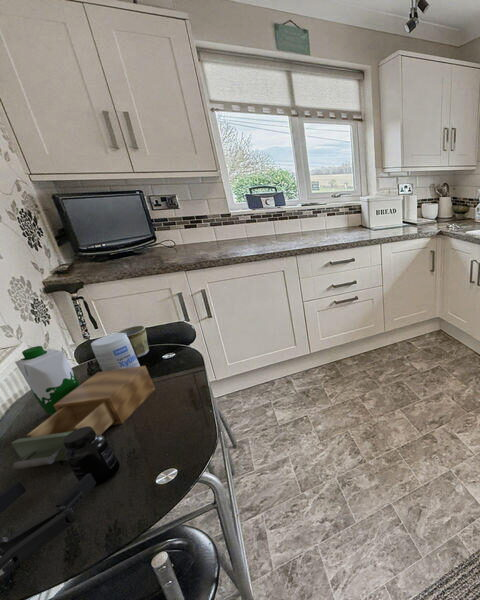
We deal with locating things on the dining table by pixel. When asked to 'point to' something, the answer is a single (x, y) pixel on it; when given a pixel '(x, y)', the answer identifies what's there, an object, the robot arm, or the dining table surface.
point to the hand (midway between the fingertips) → (56, 482)
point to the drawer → (60, 433)
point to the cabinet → (113, 391)
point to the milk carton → (47, 375)
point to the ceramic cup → (137, 339)
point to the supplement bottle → (90, 455)
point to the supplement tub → (114, 352)
